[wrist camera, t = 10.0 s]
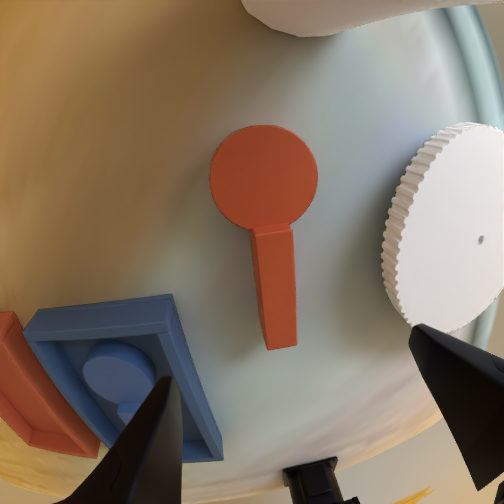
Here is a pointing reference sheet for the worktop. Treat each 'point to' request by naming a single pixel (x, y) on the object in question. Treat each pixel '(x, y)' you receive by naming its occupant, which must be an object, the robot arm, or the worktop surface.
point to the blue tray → (138, 335)
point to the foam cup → (338, 13)
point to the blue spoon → (120, 375)
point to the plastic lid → (448, 229)
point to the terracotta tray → (37, 399)
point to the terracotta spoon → (267, 213)
